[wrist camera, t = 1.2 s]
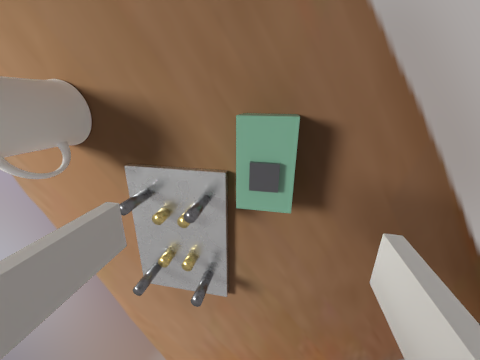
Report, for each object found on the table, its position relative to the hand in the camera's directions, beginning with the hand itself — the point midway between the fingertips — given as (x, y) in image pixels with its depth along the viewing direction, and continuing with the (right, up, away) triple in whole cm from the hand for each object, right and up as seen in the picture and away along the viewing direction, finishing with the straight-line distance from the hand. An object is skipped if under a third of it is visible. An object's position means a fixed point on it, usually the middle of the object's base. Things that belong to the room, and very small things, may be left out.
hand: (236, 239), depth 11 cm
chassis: (-8, -5, +22) cm, 24 cm away
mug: (-23, +11, +19) cm, 32 cm away
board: (+4, +6, +16) cm, 17 cm away
